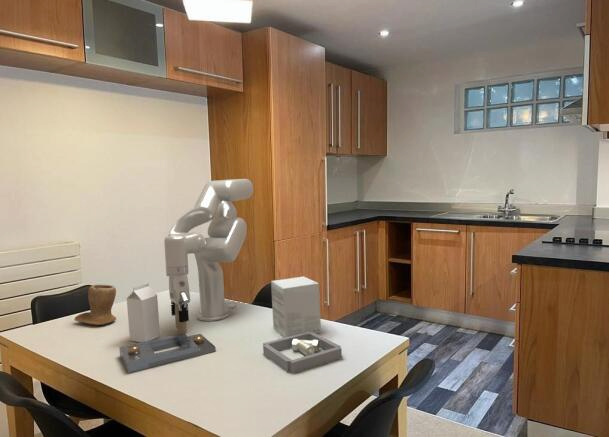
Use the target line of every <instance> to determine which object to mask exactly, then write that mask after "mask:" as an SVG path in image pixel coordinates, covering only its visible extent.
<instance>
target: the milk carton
mask: <svg viewBox="0 0 609 437" xmlns="http://www.w3.org/2000/svg"><path fill="white" fill-rule="evenodd" d="M126 306H127V321H128V331H129V332H128V333H129V341H130V342H137V343H141V342H145V341H150V340H154V339H158V338H160V337H161V327H160V318H159V317H160V315H159V303H158V294H157V293H156V292H155V291H154V290H153V289H152V288H151V286H150V283H149V282H147V283H144V284H141V285H138V286H135V287H133V288H132V292H131V293H130V294H129V295H128V297H126Z"/></svg>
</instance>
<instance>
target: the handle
mask: <svg viewBox="0 0 609 437" xmlns="http://www.w3.org/2000/svg"><path fill="white" fill-rule="evenodd" d="M170 297H171V298H174V297H173V294H171V293H169V298H170ZM180 297H181V296H180ZM181 302H182V301H181ZM181 306H182V305H181ZM179 311H180V310H179V306H178V305H177V304H176V303H175V316H174V321H175V327H176V328H175V329H176V333H177V334H181V333H185V334H187V331H188V329H187V327H188V321H186V322H179ZM177 334H176V335H177Z"/></svg>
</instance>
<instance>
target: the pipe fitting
mask: <svg viewBox="0 0 609 437" xmlns="http://www.w3.org/2000/svg"><path fill="white" fill-rule="evenodd" d="M319 347H320V343H319V340H299V339H293V341H292V347H291V349H292V352H293V351H295V352H298V351H299V352H301V353H302V354H303V355H304V356H308V355H312V354H315V353H318V352H320V348H319Z"/></svg>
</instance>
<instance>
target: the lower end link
mask: <svg viewBox="0 0 609 437" xmlns="http://www.w3.org/2000/svg"><path fill="white" fill-rule="evenodd" d="M187 336H188V337H189V338H190V339H191V340H192V341H193V342H194V343H195V344H196V345H197V346H198V351H196V352H192V353H188V354H184V355H180V356H176V357H172V358H168V359H164V360H160V361H155V362H151V363H148V366H149V368H148V369H150V368H151V369H152V368H155V367H159V366H162V365H163V366H164V365H167V364H171V363H175V362H179V361H182V360H187V359H190V358H195V357H198V356H199V357H200V356H203V355H207V354H211V353H215V352H216V346H215V345H214V344H213V343H212V342H211V341H210V340H208V339H207V338H206V337H205V336H204V335H203V334H201V333H197V334H193V335H187ZM178 346H179V347H184V346H183V344H182V343H181V342H180V341H177V342H173V343H168V344H164V345H160V346H155V347H151V349H152V350H153V352H157V351H161V350H165V349H170V348H175V347H178Z"/></svg>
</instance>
